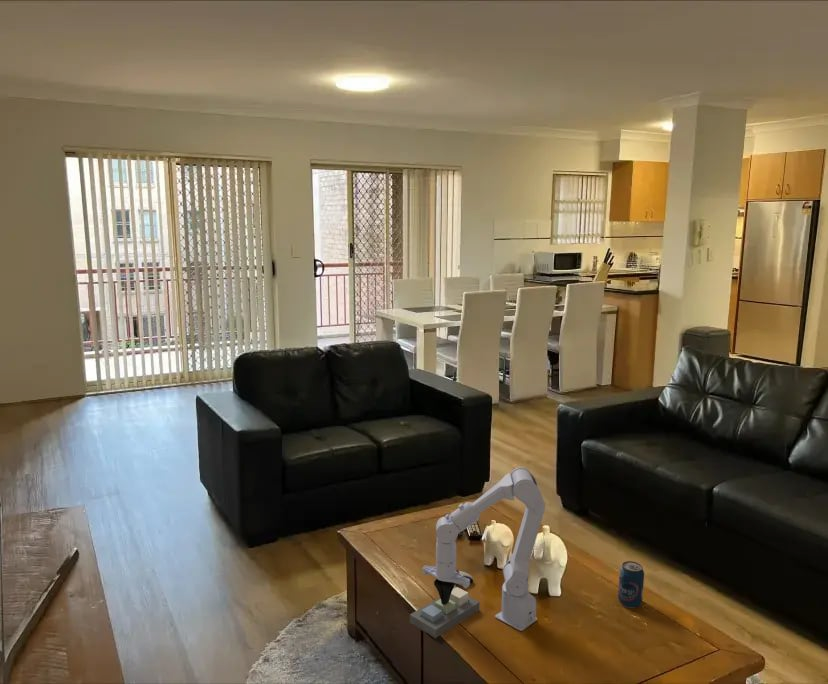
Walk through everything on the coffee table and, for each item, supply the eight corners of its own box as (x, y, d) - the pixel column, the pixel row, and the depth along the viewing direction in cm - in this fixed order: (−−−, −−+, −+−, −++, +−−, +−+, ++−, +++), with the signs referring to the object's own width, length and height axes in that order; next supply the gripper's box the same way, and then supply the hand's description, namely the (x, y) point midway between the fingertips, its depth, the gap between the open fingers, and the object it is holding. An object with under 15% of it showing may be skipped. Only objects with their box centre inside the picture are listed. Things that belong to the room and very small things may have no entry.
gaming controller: (455, 595, 203) (443, 575, 206) (443, 603, 207) (431, 583, 209) (476, 580, 212) (463, 560, 214) (464, 588, 216) (452, 569, 218)
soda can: (615, 605, 200) (618, 568, 198) (620, 594, 206) (622, 558, 204) (639, 611, 197) (642, 574, 195) (643, 600, 203) (646, 563, 201)
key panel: (479, 610, 198) (479, 602, 197) (435, 638, 184) (435, 629, 184) (453, 596, 204) (453, 588, 204) (409, 622, 191) (409, 614, 191)
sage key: (455, 613, 194) (455, 602, 193) (446, 619, 191) (446, 608, 191) (444, 607, 197) (444, 596, 196) (434, 613, 194) (435, 602, 194)
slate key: (442, 622, 190) (442, 610, 190) (432, 628, 187) (432, 616, 187) (431, 615, 193) (431, 604, 193) (421, 621, 190) (421, 610, 190)
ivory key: (468, 603, 198) (468, 592, 197) (459, 609, 195) (459, 598, 194) (456, 597, 201) (456, 586, 200) (447, 602, 198) (447, 592, 197)
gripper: (475, 560, 191) (474, 603, 193) (431, 546, 198) (430, 588, 201) (463, 571, 185) (462, 615, 187) (418, 556, 192) (418, 600, 195)
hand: (445, 602), depth 194 cm, fingers closed, pressing on sage key
